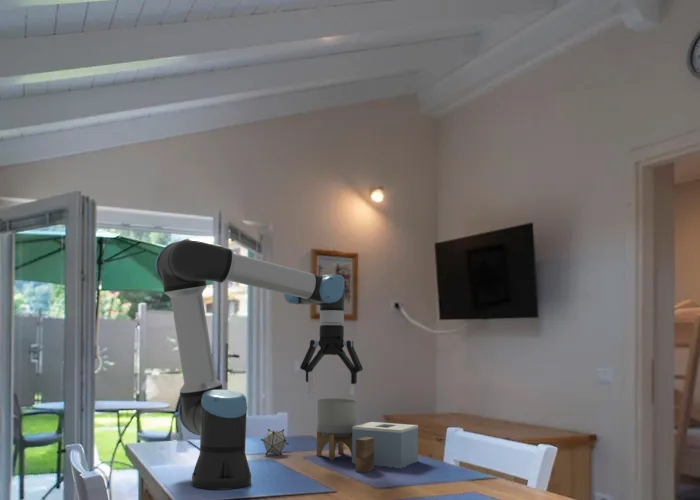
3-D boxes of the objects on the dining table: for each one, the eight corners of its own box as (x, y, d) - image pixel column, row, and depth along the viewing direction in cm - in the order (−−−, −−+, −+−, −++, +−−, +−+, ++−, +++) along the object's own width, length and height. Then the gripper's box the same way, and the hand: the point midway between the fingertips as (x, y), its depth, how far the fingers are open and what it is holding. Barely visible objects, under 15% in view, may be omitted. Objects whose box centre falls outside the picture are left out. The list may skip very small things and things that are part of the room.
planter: (311, 458, 222) (312, 401, 224) (322, 452, 235) (323, 397, 237) (351, 460, 219) (352, 402, 221) (360, 454, 232) (361, 399, 234)
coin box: (400, 468, 207) (401, 430, 209) (352, 463, 214) (352, 426, 216) (417, 461, 220) (418, 425, 221) (371, 456, 227) (371, 421, 228)
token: (373, 469, 206) (373, 437, 207) (364, 472, 200) (365, 440, 202) (364, 468, 207) (364, 436, 208) (355, 471, 202) (355, 439, 203)
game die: (278, 465, 230) (296, 439, 234) (274, 460, 223) (292, 433, 226) (257, 450, 233) (275, 424, 236) (252, 444, 226) (270, 418, 229)
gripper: (373, 325, 218) (372, 394, 216) (301, 324, 228) (300, 391, 226) (364, 324, 211) (363, 396, 209) (290, 324, 221) (289, 393, 219)
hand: (330, 394), depth 217 cm, fingers open, 13 cm apart
